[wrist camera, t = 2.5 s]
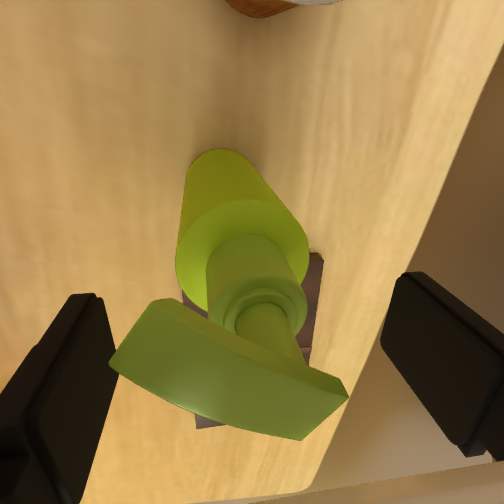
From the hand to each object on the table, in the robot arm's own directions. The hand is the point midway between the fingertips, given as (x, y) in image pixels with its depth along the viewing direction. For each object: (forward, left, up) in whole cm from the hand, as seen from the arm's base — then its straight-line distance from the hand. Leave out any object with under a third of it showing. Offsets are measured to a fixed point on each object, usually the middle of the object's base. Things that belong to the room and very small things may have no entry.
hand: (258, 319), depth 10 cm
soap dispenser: (0, 0, -17) cm, 17 cm away
